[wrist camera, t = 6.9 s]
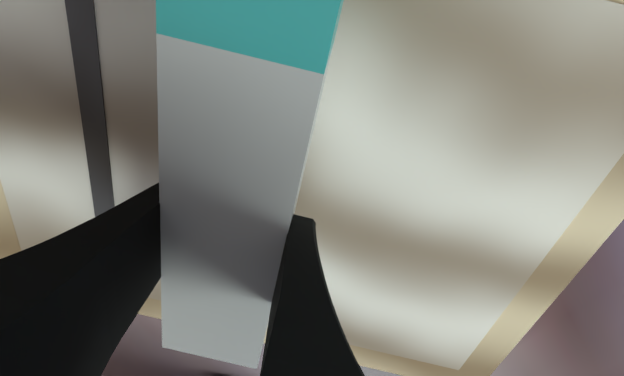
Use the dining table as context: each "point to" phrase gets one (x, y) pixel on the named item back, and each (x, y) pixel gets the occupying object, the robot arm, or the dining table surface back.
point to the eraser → (232, 159)
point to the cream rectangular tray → (362, 157)
